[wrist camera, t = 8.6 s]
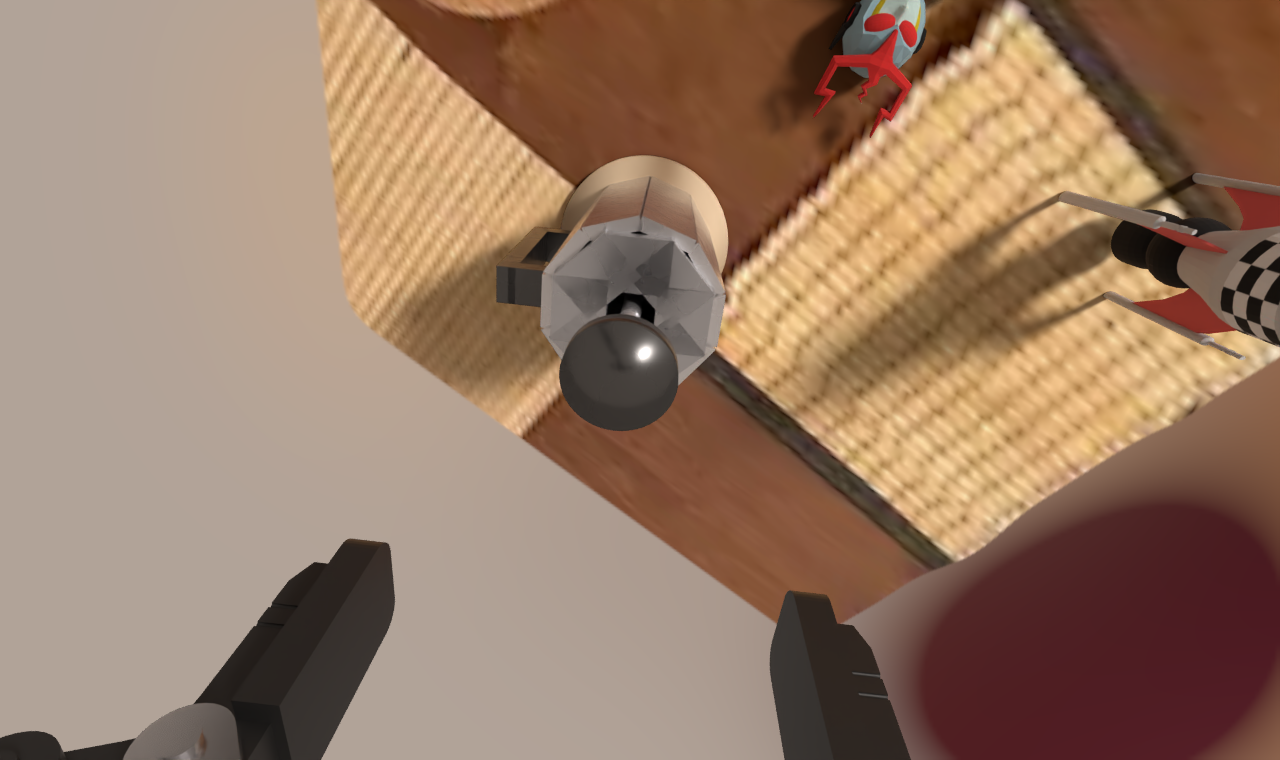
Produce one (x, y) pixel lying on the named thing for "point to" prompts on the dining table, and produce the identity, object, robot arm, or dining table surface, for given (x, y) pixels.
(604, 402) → the plunger
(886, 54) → the toy
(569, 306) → the french press
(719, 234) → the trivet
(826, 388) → the dining table surface
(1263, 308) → the toy
